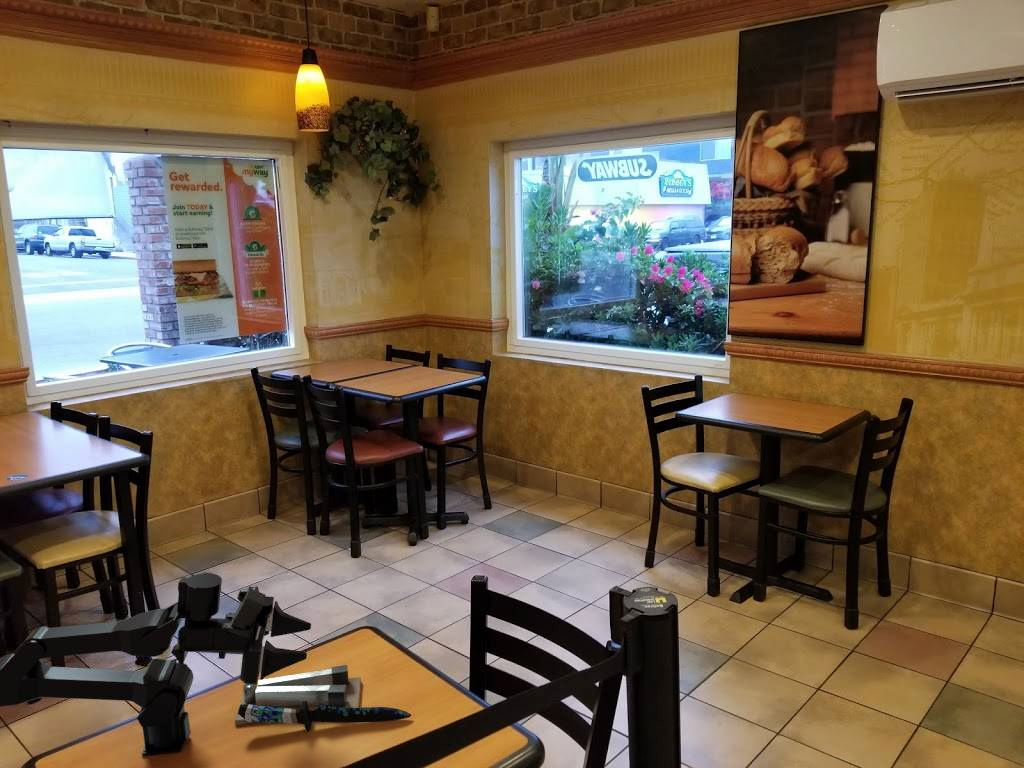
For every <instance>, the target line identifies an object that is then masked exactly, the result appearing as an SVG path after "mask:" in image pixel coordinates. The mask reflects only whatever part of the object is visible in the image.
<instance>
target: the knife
mask: <svg viewBox="0 0 1024 768" xmlns="http://www.w3.org/2000/svg"><path fill="white" fill-rule="evenodd" d="M239 706H240V707H239ZM239 706H238V709H239V711H238V710H237V712H238V714H239V715H240V716H241V717H242V718H244V719H245V720H246V721H248V722H262V723H267V724H268V723H271V724H274V723H275V724H298V725H303V727H304V728H305V731H306V733H309V732H311V729H312V726H313V725H312V724H313V723H329V724H330V723H331V724H333V723H334V724H337V723H338V724H339V723H340V724H343V723H344V724H345V723H346V724H349V723H350V724H351V723H353V724H357V723H359V724H360V723H361V724H362V723H378V722H391V721H393V722H394V721H401V720H405V719H408V718H410V717H412V714H411V713H409V712H408V711H405V710H403V709H400V708H396V707H395V708H394V707H390V706H389V707H388V706H387V707H386V706H371V707H370V706H368V707H367V706H366V707H362V706H361V707H359V708H339V707H332V706H328V705H324V704H321V703H320V706H319V708H318V709H316V710H309V708H308V705H307V702H306V701H303V702H302V704H301V708H300V709H286V708H277V707H268V706H258V705H250V704H241V705H240V704H239Z"/></svg>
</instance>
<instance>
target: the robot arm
mask: <svg viewBox="0 0 1024 768" xmlns="http://www.w3.org/2000/svg"><path fill="white" fill-rule="evenodd" d="M222 583H223V578H222V577H221V576H220V575H219V574H216V573H212V572H203V573H198V574H193V575H190V576H189V577H186V576H185V577H183V576H182V577H181V578H180V580H179V581H178V584H177V591H178V599H177V602H175V603H173V604H171V605H170V606H168V607H166V608H157V609H153V610H147V611H143V612H140V613H137V614H134V615H132V616H131V617H128V618H126V619H123V620H119V621H110V622H109V621H108V622H100V623H99V622H98V623H89V624H88V623H87V624H77V625H68V626H67V625H66V626H58V627H57V626H56V627H55V626H54V627H48V626H40V627H37V628H35V629H33V630H32V632H30V634H29V635H28V636H27V637H26V639H25V640H24V641H23V642H22V643H21V644H20V645H19V646H18V647H17V648H16V649H15V650H14V652H13V653H8V654H5V655H3V656H2V657H0V708H3V707H13V706H18V705H21V704H23V703H24V704H25V703H28V702H30V701H33V700H36V699H40V698H47V699H48V698H49V699H71V700H72V699H73V700H93V701H95V700H97V701H98V700H99V701H122V702H123V701H125V702H132V703H134V704H135V705H137V706H139V707H140V708H141V709H140V711H139V713H138V715H137V717H136V719H137V721H138V724H139V725H140V726H141V728H142V733H143V734H142V735H143V741H144V746H143V748H142V750H141V755H142V756H152V755H161V754H173V753H180V752H182V750H183V748H184V745H185V743H186V742H187V741H188V738H189V736H190V733H191V727H190V718H189V712H188V711H186V710H185V703H186V701H187V697H188V695H189V692H190V690H191V687H192V685H193V681H194V673H193V670H192V669H191V667H189V666H188V664H186V663H184V662H185V660H186V658H187V656H188V653H206V654H207V653H208V654H218V659H221V660H225V658H226V655H242V657H241V667H240V676H239V677H240V678H239V680H240V681H241V682H242V683H243V685H244V684H249V685H257V686H258V682H259V680H264V679H265V678H267V677H268V676H270V675H272V674H274V673H276V672H279V671H280V670H283V669H285V668H287V667H291V666H293V665H295V664H297V663H301V662H302V661H305V660H307V657H308V652H305V651H301V650H296V649H295V650H294V649H287V648H280V647H275V646H274V645H273V644H272V643H271V642H270V641H269V640H267V639H266V640H265V642H263V641H264V638H265V636H268V635H269V634H270V638H274V637H279V636H285V635H290V634H291V635H292V634H296V633H301V632H305V631H309V630H311V629H312V623H311V622H308V621H306V620H304V619H301V618H298V617H296V616H293V615H291V614H288V613H287V612H284V611H283V609H282V608H281V607H280V605H279V602H278V601H277V600H275V596H267V595H266V594H265V593H262V592H261V591H260V589H259V587H258V586H257V585H255V586H250V585H249V586H242V587H241V588H240V590H239V592H238V594H237V597H236V598H237V600H238V601H239V602H240V603H239V604H238V607H237V609H236V612H228V613H226V615H225V617H224V618H221V617H220V618H218V617H217V618H216V617H214V616H215V615H217V614H218V613H219V611H220V603H221V595H222V594H221V593H222ZM183 619H184V625H183V626H182V627H180V628H179V626H180V624H181V622H182V620H183ZM178 628H179V630H178ZM176 633H177V640H176V641H177V643H176V644H175V645H174V646H173V647H172V650H171V652H170V653H171V655H173V656H174V658H173V659H161V658H152V659H150V660H151V661H150V662H149V665H148V667H145V668H142V669H140V670H127V669H106V668H105V669H104V668H87V667H86V668H85V667H64V666H62V667H61V666H49V665H48V664H45V663H44V662H43V661H41V660H42V659H48V658H58V657H59V658H60V657H67V656H68V657H69V656H77V655H79V656H80V655H89V654H97V653H98V654H99V653H107V652H110V653H111V652H120V653H122V652H123V653H124V654H127V655H129V656H132V657H145V658H146V657H150V658H151V657H158V656H161V655H164V653H165V652H166V651H167V650H168V649H169V647H170V646H171V643H172V641H173V640H174V637H175V635H176ZM263 643H264V645H263ZM259 677H260V679H259Z"/></svg>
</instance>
